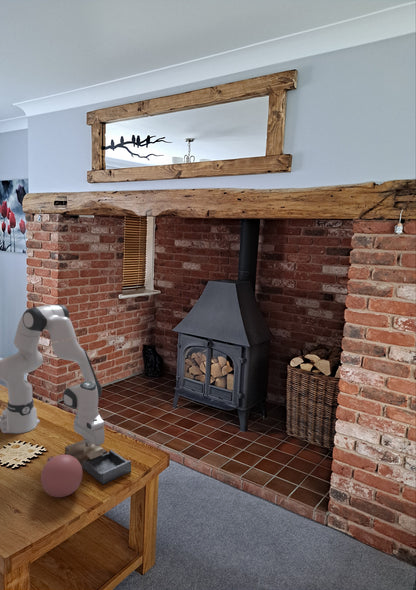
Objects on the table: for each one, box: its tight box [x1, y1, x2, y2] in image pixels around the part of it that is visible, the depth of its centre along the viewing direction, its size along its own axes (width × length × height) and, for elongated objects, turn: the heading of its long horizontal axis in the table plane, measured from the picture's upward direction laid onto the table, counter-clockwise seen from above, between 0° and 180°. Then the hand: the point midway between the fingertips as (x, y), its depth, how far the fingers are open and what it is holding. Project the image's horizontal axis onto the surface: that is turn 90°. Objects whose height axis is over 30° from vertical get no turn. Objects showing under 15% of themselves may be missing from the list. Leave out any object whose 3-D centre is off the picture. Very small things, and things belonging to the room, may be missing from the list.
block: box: [84, 444, 104, 459], centre depth 191 cm, size 6×6×3 cm
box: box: [82, 449, 132, 486], centre depth 184 cm, size 16×14×5 cm
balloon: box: [40, 453, 84, 498], centre depth 169 cm, size 15×20×15 cm
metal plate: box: [64, 439, 108, 466], centre depth 196 cm, size 16×12×3 cm
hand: (88, 446), depth 194 cm, fingers closed
